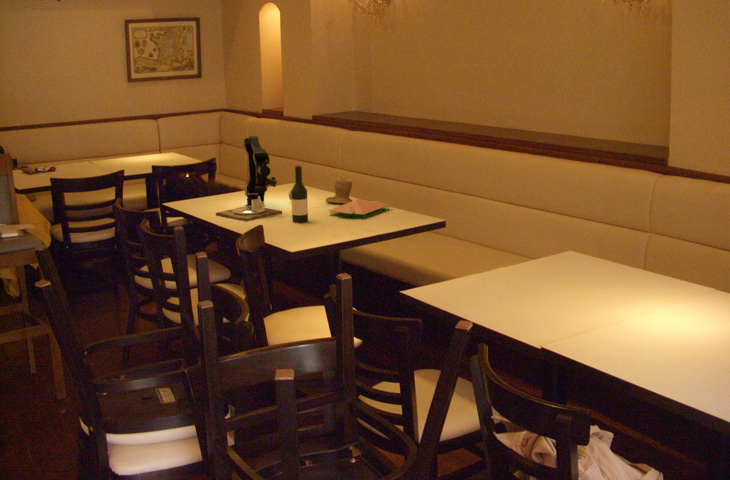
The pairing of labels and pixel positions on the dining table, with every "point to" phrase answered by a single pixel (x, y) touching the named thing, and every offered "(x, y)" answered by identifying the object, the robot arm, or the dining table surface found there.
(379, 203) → the house
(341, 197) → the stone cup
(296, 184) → the wine bottle
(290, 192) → the donut
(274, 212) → the board
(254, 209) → the dial
